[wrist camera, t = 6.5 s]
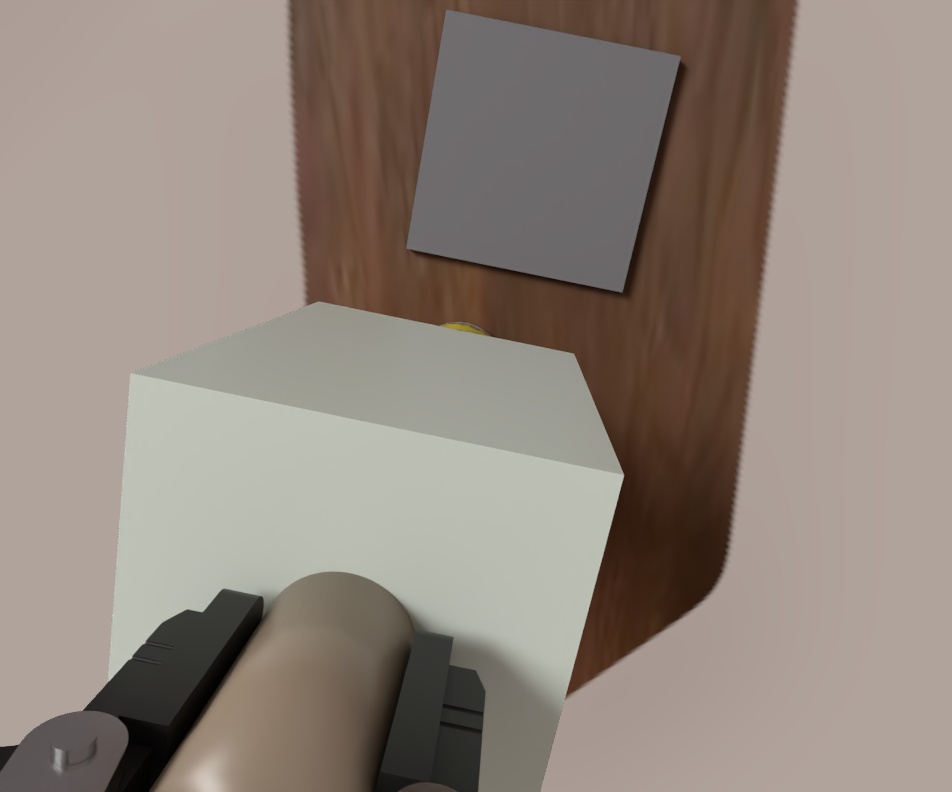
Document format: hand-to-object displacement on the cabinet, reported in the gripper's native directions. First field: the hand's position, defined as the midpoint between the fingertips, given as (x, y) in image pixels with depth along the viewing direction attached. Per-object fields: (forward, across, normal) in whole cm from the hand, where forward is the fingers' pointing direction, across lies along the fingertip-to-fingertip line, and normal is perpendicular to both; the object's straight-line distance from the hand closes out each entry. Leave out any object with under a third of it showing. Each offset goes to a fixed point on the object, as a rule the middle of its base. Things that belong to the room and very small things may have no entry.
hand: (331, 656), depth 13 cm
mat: (+28, -2, -12) cm, 30 cm away
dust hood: (+13, 0, 0) cm, 13 cm away
